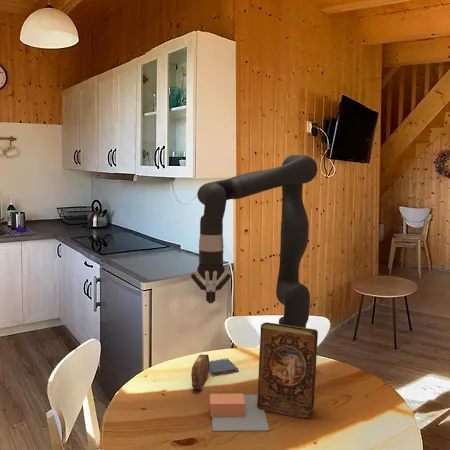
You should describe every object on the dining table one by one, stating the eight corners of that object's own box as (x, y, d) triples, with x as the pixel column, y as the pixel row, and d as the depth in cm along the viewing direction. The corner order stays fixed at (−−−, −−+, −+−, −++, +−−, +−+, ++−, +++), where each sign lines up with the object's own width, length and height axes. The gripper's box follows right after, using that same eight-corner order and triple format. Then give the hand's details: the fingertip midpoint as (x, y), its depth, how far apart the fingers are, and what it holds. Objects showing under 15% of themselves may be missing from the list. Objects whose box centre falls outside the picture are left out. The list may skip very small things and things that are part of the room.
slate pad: (260, 395, 152) (260, 394, 152) (269, 430, 132) (269, 429, 132) (211, 396, 152) (211, 395, 152) (212, 431, 132) (212, 430, 132)
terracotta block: (209, 406, 145) (243, 406, 145) (210, 417, 139) (244, 416, 139) (209, 393, 144) (243, 393, 144) (210, 403, 138) (245, 403, 139)
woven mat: (227, 362, 178) (228, 356, 178) (239, 373, 169) (240, 368, 168) (201, 366, 174) (201, 360, 174) (212, 378, 165) (212, 373, 164)
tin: (199, 394, 153) (199, 369, 152) (189, 393, 153) (189, 368, 152) (210, 373, 167) (210, 350, 166) (201, 373, 168) (201, 349, 167)
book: (255, 408, 144) (258, 327, 140) (259, 400, 149) (263, 321, 145) (310, 419, 138) (315, 336, 135) (313, 410, 144) (318, 329, 140)
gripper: (231, 246, 153) (230, 299, 156) (190, 246, 153) (189, 299, 155) (233, 250, 146) (232, 306, 148) (189, 250, 145) (189, 306, 148)
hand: (210, 302), depth 152 cm, fingers closed
